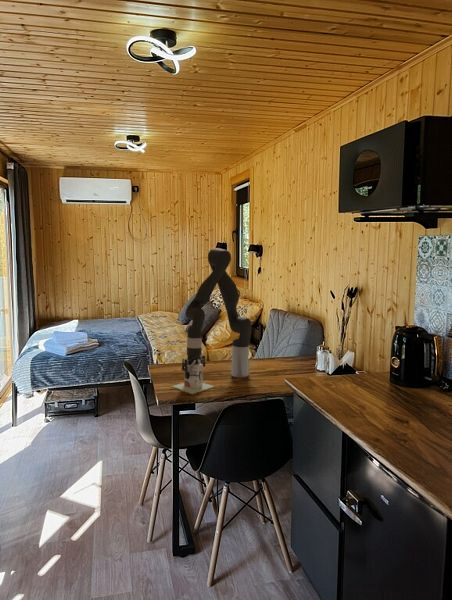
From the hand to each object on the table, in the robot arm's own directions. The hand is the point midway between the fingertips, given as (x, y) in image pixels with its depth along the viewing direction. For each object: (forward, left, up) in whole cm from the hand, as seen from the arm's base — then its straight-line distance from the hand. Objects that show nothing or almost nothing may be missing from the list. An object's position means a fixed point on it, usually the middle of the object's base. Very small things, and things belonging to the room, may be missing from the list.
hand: (193, 377), depth 238 cm
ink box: (0, 0, -5) cm, 5 cm away
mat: (0, 0, -5) cm, 5 cm away
